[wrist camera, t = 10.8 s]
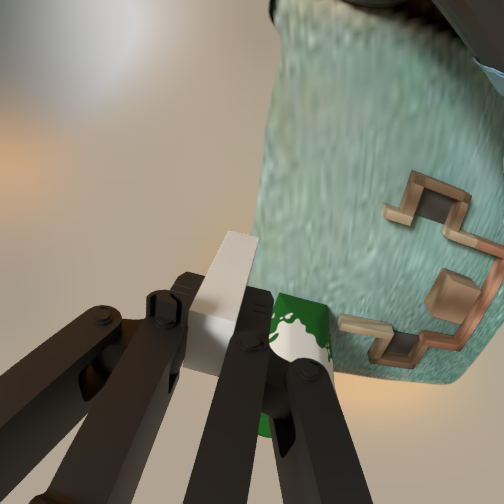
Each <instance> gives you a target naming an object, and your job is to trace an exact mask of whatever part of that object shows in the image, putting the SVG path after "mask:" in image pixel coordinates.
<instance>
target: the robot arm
mask: <svg viewBox="0 0 504 504" xmlns="http://www.w3.org/2000/svg"><path fill="white" fill-rule="evenodd" d="M344 1H347V2H350V3H353V4H356V5H360V6H364V7H371V8H387V7H393V6H397V5H400V4H402V3H404V2H406V1H408V0H344ZM431 1H432V2H433V3H434V4H435V6H436V7H437V8H438V9H439V11H440V12H441V13H442V14H443V16H444V17H445V18H446V19H447V21H448V22H449V23H450V25H451V26H452V27H453V28H454V30H455V31H456V33H457V34H458V35H459V37H460V38H461V39H462V41H463V42H464V44H465V45H466V47H467V48H468V50H469V51H470V52H471V57H472V58H473V60H474V61H475V63H476V64H477V65H479V66H480V67H481V68H482V70H483V71H484V73H485V74H486V76H487V77H488V79H489V80H490V82H491V83H492V85H493V87H494V88H495V89H496V90H497V92H498V93H499V94H500V95H501V96H503V97H504V0H431ZM258 239H259V237H255V236H251V235H246V234H242V233H238V232H234V231H228V233H227V235H226V237H225V239H224V241H223V243H222V244H221V247H220V249H219V251H218V252H217V254H216V257H215V259H214V260H213V262H212V264H211V266H210V269H209V270H208V272H207V274H206V276H203V275H199V274H194V273H191V272H185V273H183V274H182V275H180V276H178V278H177V279H176V281H175V283H174V285H173V286H172V288H171V289H170V290H157V291H154V292H152V293H150V294H149V295H148V296H147V299H146V318H145V319H140V320H132V319H122V316H121V314H120V312H119V311H118V310H117V309H115V308H113V307H110V306H105V305H100V306H94V307H92V308H90V309H88V310H87V311H86V312H84V313H83V314H81V315H80V316H79V317H77V318H76V319H75V320H73V321H72V322H71V323H69V324H68V325H66V326H65V327H64V328H62V329H61V330H60V331H59V332H57V333H56V334H54V335H53V336H52V337H50V338H49V339H48V340H46V341H45V342H44V343H42V344H41V345H40V346H38V347H37V348H36V349H34V350H33V351H32V352H31V353H29V354H28V355H27V356H25V357H24V358H23V359H21V360H20V361H19V362H18V363H16V364H15V365H14V366H12V367H11V368H10V369H9V370H7V371H6V372H5V373H4V374H2V375H1V376H0V502H1V501H2V500H3V499H4V498H5V497H6V496H7V495H8V494H9V493H10V492H11V491H12V490H13V489H14V488H15V487H16V486H17V485H18V484H19V483H20V482H21V481H22V480H23V479H24V478H25V477H26V476H27V475H28V473H30V471H31V470H32V469H33V468H34V467H35V466H36V465H37V464H38V463H39V462H40V461H41V460H42V459H43V458H44V457H45V456H46V455H47V454H48V453H49V452H50V451H51V450H52V449H53V448H54V447H55V446H56V445H57V444H58V443H59V442H60V441H61V440H62V439H63V438H64V437H65V436H66V435H67V434H68V433H69V432H70V431H71V430H72V429H73V428H74V427H75V426H76V424H78V422H79V421H81V419H82V418H83V417H84V416H85V415H86V414H87V413H88V412H89V413H88V415H87V416H86V418H85V420H84V422H83V423H82V425H81V427H80V429H79V431H78V432H77V434H76V436H75V438H74V440H73V442H72V444H71V445H70V447H69V449H68V451H67V453H66V455H65V457H64V458H63V461H62V462H61V464H60V466H59V468H58V470H57V472H56V474H55V476H54V478H53V480H52V482H51V484H50V486H49V487H48V489H47V491H46V492H45V493H43V494H41V495H37V496H35V497H34V498H33V499H32V500H31V501H30V502H29V504H131V502H132V499H133V497H134V494H135V491H136V488H137V486H138V483H139V481H140V478H141V475H142V472H143V470H144V467H145V465H146V462H147V459H148V456H149V454H150V451H151V449H152V446H153V443H154V441H155V438H156V435H157V433H158V431H159V428H160V425H161V423H162V420H163V418H164V415H165V412H166V410H167V407H168V405H169V402H170V400H171V397H172V394H173V392H174V389H175V386H176V384H177V382H178V379H179V373H180V367H181V365H182V362H183V360H184V362H183V367H185V368H188V369H192V370H195V371H199V372H203V373H207V374H210V375H214V376H218V377H219V379H218V382H217V386H216V389H215V393H214V397H213V400H212V403H211V407H210V410H209V414H208V417H207V421H206V424H205V428H204V431H203V435H202V438H201V442H200V445H199V449H198V452H197V456H196V460H195V463H194V467H193V470H192V473H191V477H190V480H189V484H188V487H187V491H186V494H185V498H184V501H183V504H247V499H248V493H249V487H250V481H251V474H252V469H253V462H254V456H255V449H256V443H257V437H258V430H259V423H260V417H261V412H262V413H264V414H266V415H268V419H269V425H270V431H271V437H272V442H273V448H274V453H275V459H276V465H277V471H278V476H279V482H280V487H281V493H282V498H283V503H284V504H373V502H372V499H371V495H370V492H369V489H368V486H367V483H366V480H365V477H364V474H363V471H362V468H361V465H360V462H359V459H358V456H357V453H356V450H355V447H354V444H353V442H352V438H351V436H350V433H349V430H348V427H347V424H346V421H345V419H344V415H343V412H342V410H341V407H340V404H339V401H338V398H337V395H336V393H335V390H334V387H333V384H332V381H331V379H330V376H329V373H328V371H327V370H326V368H325V367H324V366H323V365H322V364H321V363H320V362H318V361H316V360H314V359H310V358H305V357H304V358H297V359H295V360H294V361H292V362H290V361H288V360H285V359H283V358H282V357H280V356H278V355H277V354H276V353H275V352H274V351H273V350H272V349H271V347H270V344H269V335H270V327H271V319H272V312H273V304H274V299H273V297H272V294H271V292H270V291H266V290H262V289H258V288H254V287H250V286H247V285H248V281H249V277H250V273H251V269H252V265H253V260H254V256H255V252H256V248H257V244H258Z"/></svg>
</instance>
